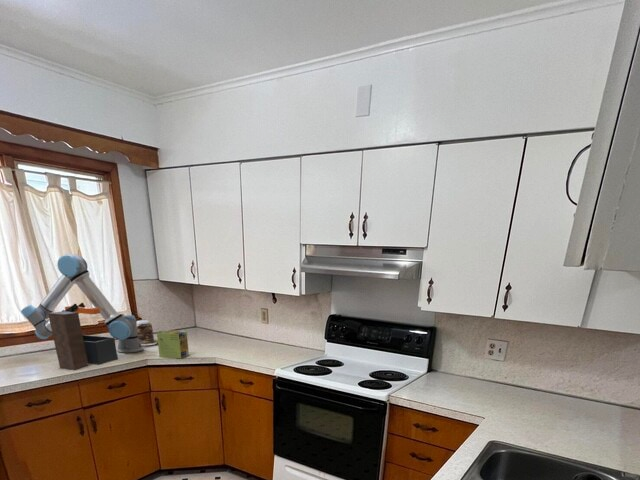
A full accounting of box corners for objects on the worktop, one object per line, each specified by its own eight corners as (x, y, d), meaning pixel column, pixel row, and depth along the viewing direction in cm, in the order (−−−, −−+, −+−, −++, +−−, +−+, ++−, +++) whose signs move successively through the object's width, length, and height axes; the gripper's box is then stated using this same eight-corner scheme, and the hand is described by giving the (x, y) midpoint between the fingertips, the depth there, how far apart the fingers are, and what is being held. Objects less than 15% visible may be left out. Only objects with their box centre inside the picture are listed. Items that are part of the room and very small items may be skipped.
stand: (60, 368, 238) (47, 313, 226) (74, 364, 247) (63, 311, 235) (74, 370, 236) (63, 314, 224) (88, 365, 245) (78, 312, 233)
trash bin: (65, 361, 254) (61, 339, 248) (85, 355, 267) (81, 334, 262) (99, 364, 248) (95, 342, 243) (117, 358, 262) (114, 337, 257)
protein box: (181, 358, 267) (178, 333, 261) (159, 356, 270) (156, 332, 264) (189, 355, 277) (187, 331, 271) (167, 353, 280) (165, 329, 274)
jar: (140, 340, 317) (137, 319, 311) (156, 340, 317) (153, 320, 311) (134, 343, 306) (131, 322, 300) (150, 343, 306) (147, 322, 300)
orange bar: (65, 312, 247) (64, 306, 246) (71, 311, 251) (70, 306, 250) (94, 314, 243) (93, 309, 242) (100, 313, 247) (99, 308, 246)
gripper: (71, 326, 263) (95, 309, 254) (47, 331, 248) (72, 313, 239) (63, 315, 262) (88, 297, 253) (39, 319, 246) (64, 300, 237)
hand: (80, 305), depth 246 cm, fingers closed on orange bar, 4 cm apart
